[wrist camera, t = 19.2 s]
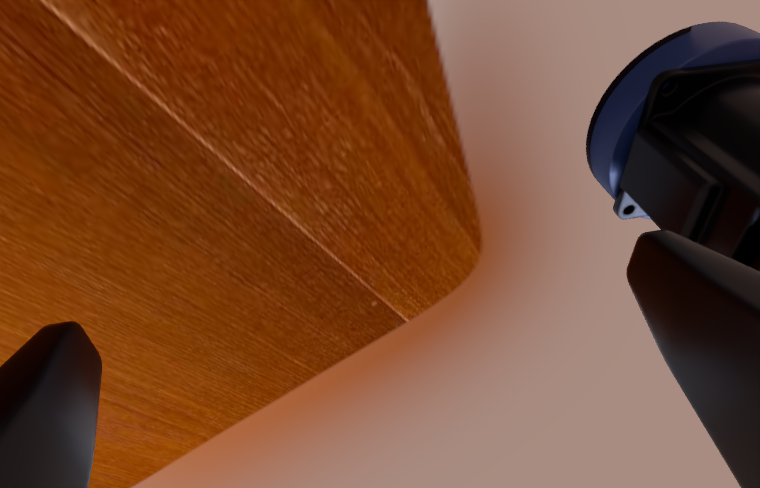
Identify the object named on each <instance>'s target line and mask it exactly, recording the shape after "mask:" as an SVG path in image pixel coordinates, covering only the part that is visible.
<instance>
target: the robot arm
mask: <svg viewBox="0 0 760 488" xmlns="http://www.w3.org/2000/svg"><path fill="white" fill-rule="evenodd" d="M668 82H670V83H669V84H668V86H667V87H666V88H665V89H663V87H664V85H665V84H666V83H668ZM627 206H628V207H627ZM626 207H627V208H626ZM625 208H626V209H625ZM613 210H614V212H615V213H616V215H617V216H618V217H619V218H621V219H631V218H638V217H645V216H649V217H650V218H651V219H652V220H653V222H655V224H656V225H657V226H658V227H659V228H660V229H661V230H657V231H651V232H645V233H643V234H641V235H640V236H639V237H638V239H637V242H636V244H635V247H634V250H633V253H632V256H631V258H630V261H629V264H628V267H627V279H628V282H629V285H630V287H631V289H632V292H633V293H634V296H635V298H636V300H637V302H638V304H639V307H640V309H641V311H642V313H643V315H644V317H645V320H646V322H647V324H648V326H649V328H650V330H651V332H652V335H653V337H654V339H655V341H656V343H657V345H658V347H659V349H660V351H661V353H662V355H663V357H664V359H665V361H666V363H667V365H668V366H669V368H670V370H671V372H672V373H673V375H674V377H675V378H676V380H677V382H678V383H679V385H680V387H681V388H682V390H683V392H684V393H685V395H686V397H687V398H688V400H689V402H690V403H691V405H692V407H693V408H694V410H695V412H696V413H697V415H698V417H699V418H700V420H701V422H702V423H703V425H704V427H705V428H706V430H707V431H708V433H709V435H710V437H711V438H712V440H713V442H714V443H715V445H716V447H717V448H718V450H719V452H720V453H721V455H722V457H723V458H724V460H725V462H726V463H727V465H728V467H729V468H730V470H731V472H732V473H733V475H734V476H735V478H736V480H737V482H738V483H739V485H740V487H741V488H760V59H753V60H745V61H737V62H729V63H720V64H712V65H704V66H696V67H688V68H679V69H671V70H666V71H662V72H661V73H659V74H658V75H657V76H656V77H655V78H654V79H653V80H652V82H651V84H650V87H649V91H648V94H647V97H646V101H645V104H644V107H643V111H642V114H641V117H640V120H639V124H638V127H637V130H636V134H635V136H634V139H633V142H632V146H631V149H630V152H629V156H628V159H627V162H626V165H625V169H624V172H623V175H622V179H621V182H620V186H619V190H618V193H617V196H616V200H615V203H614V206H613ZM101 374H102V362H101V357H100V355H99V353H98V351H97V350H96V348H95V347H94V345H93V343H92V342H91V340H90V339H89V337H88V336H87V334H86V333H85V331H84V330H83V328H82V327H81V326H80V324H78V323H77V322H73V321H69V322H62V323H56V324H50V325H47V326H45V327H43V328H42V329H40V330H39V331H38V332H37V333H36V334H35V335H34V336H33V337H32V338H31V339H30V340H29V341H27V342H26V343H25V344H24V345H23V346H22V347H21V348H20V349H19V350H18V351H17V352H16V353H15V354H14V355H12V356H11V357H10V358H9V359H8V360H7V361H6V362H5V363H4V364H3V365H2V366H1V367H0V488H88V483H89V479H90V473H91V468H92V463H93V455H94V447H95V437H96V426H97V416H98V406H99V395H100V385H101Z"/></svg>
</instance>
